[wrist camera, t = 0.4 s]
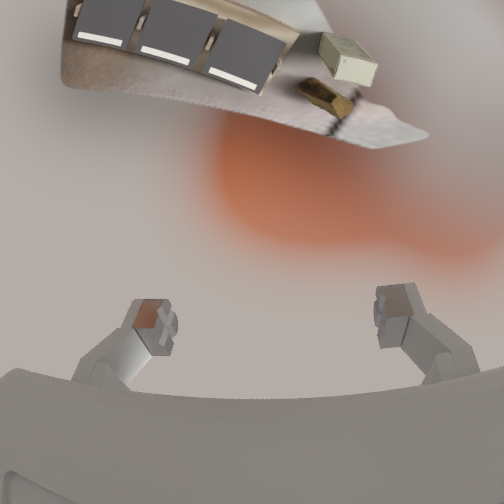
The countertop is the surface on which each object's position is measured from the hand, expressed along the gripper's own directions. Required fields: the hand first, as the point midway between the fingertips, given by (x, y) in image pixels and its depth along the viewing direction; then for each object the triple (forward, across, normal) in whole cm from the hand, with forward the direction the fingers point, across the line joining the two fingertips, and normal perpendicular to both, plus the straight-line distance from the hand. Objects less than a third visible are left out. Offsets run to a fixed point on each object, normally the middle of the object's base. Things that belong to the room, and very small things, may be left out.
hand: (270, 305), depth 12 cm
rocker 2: (+44, +5, -7) cm, 45 cm away
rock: (+54, -8, +2) cm, 55 cm away
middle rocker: (+42, +14, -14) cm, 46 cm away
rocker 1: (+39, +23, -20) cm, 50 cm away
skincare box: (+51, -11, -8) cm, 53 cm away
